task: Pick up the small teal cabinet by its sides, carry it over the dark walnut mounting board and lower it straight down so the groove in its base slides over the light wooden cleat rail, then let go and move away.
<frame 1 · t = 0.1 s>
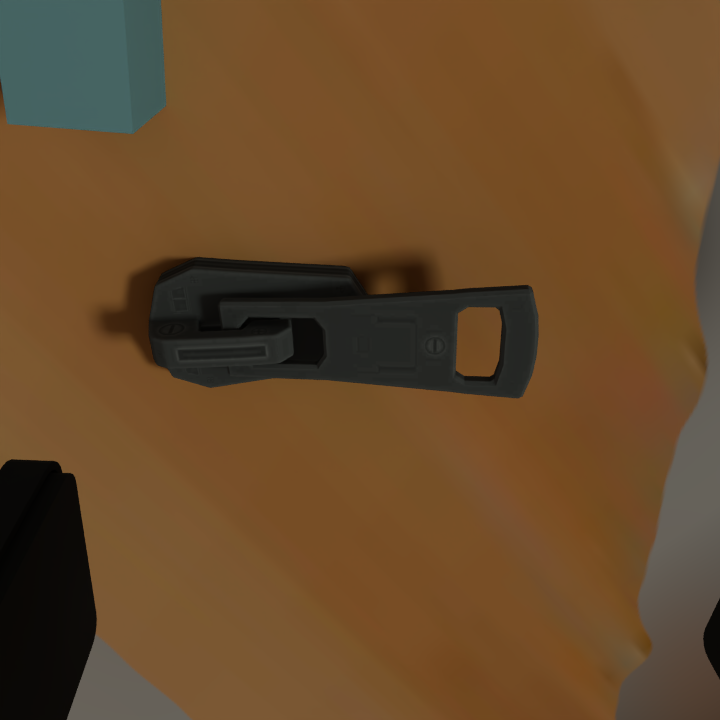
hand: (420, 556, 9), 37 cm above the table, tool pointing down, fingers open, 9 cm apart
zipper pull: (337, 309, 48), on the table
cabinet: (106, 6, 38), on the table
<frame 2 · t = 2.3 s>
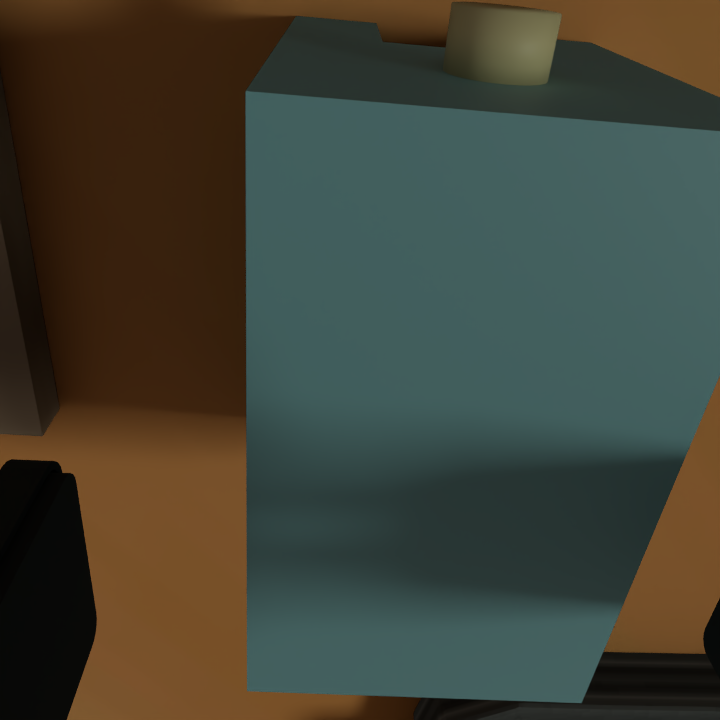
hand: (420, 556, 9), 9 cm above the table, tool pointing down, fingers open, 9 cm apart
cabinet: (414, 258, 17), on the table
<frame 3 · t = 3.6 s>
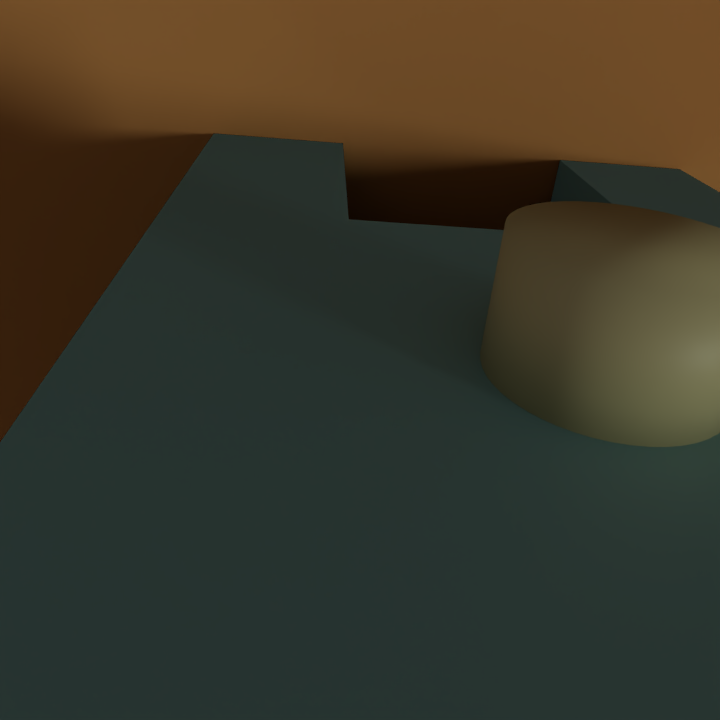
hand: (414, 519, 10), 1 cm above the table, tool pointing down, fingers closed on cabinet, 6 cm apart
cabinet: (406, 464, 11), on the table, touching gripper
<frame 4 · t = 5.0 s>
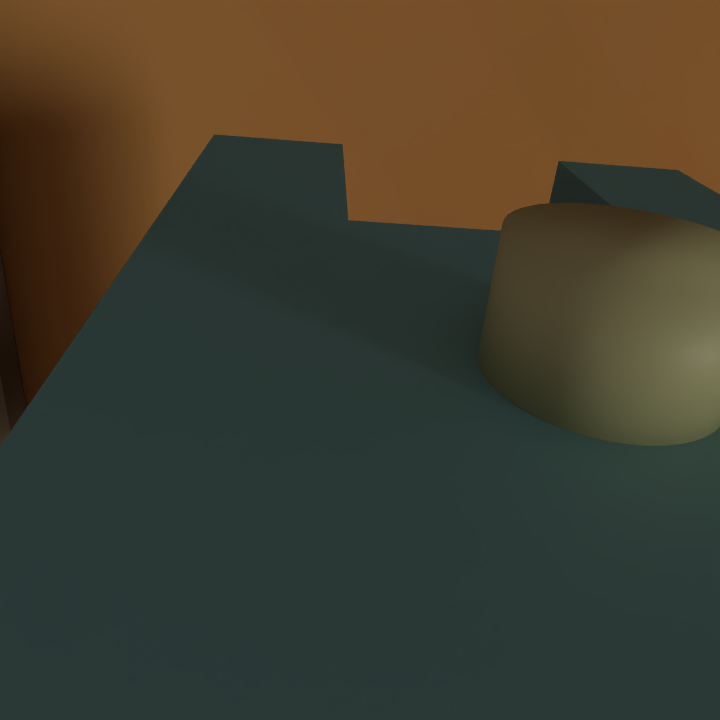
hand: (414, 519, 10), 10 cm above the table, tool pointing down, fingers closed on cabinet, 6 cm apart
cabinet: (406, 463, 11), point 9 cm above the table, touching gripper
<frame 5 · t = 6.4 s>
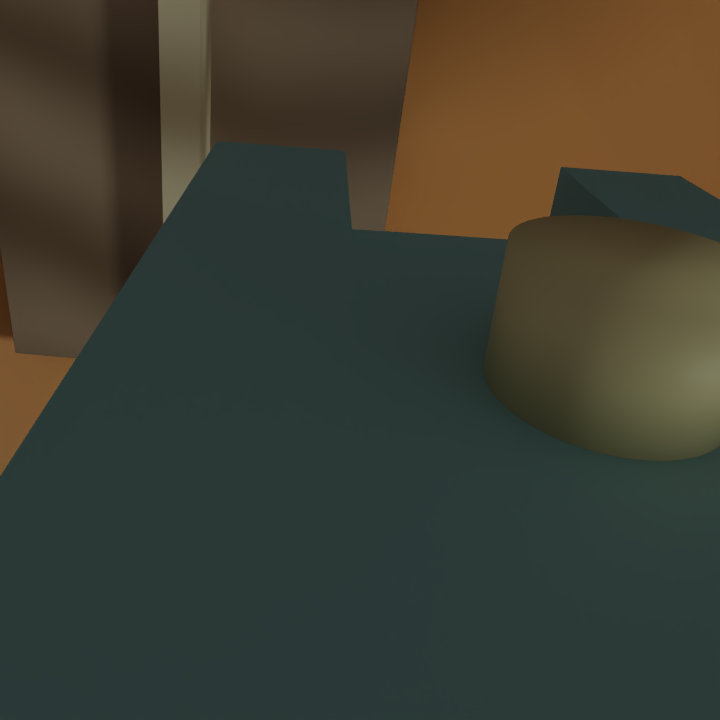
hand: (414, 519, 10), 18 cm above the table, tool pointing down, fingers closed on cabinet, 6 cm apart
mounting board: (198, 78, 24), on the table
cabinet: (408, 468, 11), point 17 cm above the table, touching gripper
when the fingers open (3 cm above the table, at t = 9.4 s): cabinet stays where it is, resting on mounting board.
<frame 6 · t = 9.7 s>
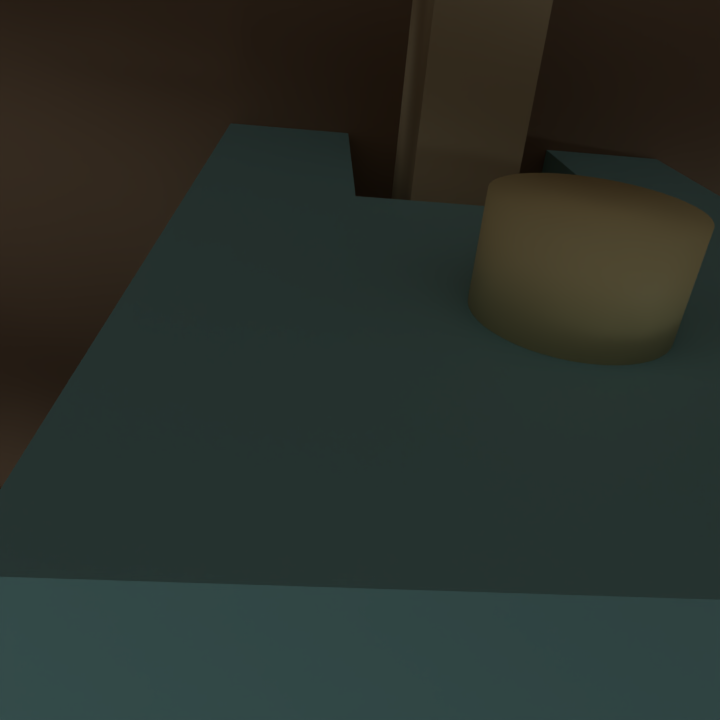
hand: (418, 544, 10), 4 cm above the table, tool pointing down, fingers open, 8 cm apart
mounting board: (395, 395, 13), on the table
cabinet: (405, 434, 12), point 1 cm above the table, touching mounting board
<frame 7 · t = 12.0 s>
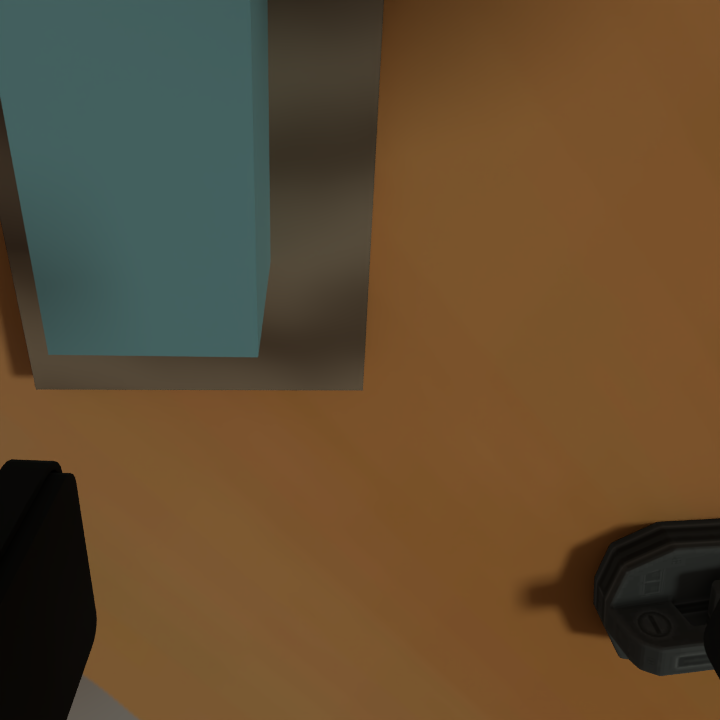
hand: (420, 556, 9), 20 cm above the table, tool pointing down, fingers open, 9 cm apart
mounting board: (187, 121, 26), on the table
cabinet: (184, 128, 25), point 1 cm above the table, touching mounting board
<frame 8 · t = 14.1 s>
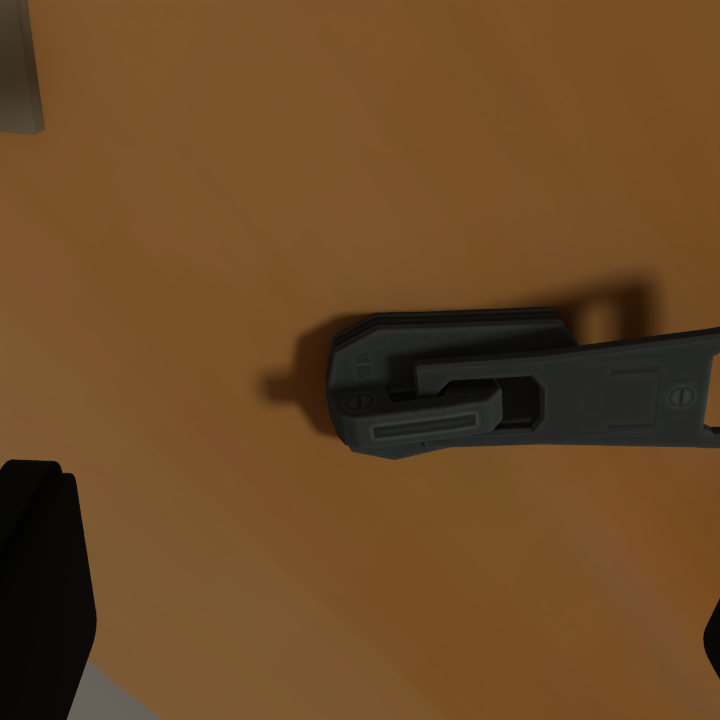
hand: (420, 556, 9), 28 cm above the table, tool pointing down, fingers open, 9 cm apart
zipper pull: (534, 356, 41), on the table
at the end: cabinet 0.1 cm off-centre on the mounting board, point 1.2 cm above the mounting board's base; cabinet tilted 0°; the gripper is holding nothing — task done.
